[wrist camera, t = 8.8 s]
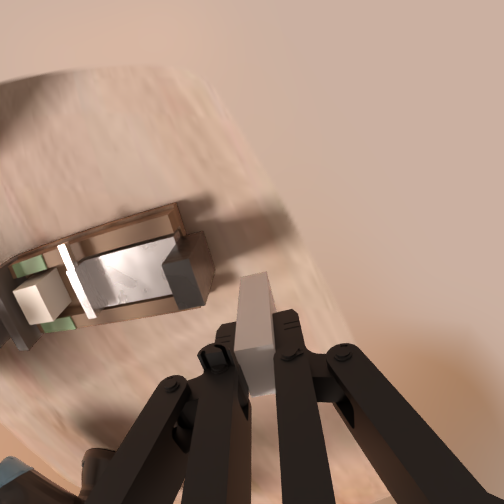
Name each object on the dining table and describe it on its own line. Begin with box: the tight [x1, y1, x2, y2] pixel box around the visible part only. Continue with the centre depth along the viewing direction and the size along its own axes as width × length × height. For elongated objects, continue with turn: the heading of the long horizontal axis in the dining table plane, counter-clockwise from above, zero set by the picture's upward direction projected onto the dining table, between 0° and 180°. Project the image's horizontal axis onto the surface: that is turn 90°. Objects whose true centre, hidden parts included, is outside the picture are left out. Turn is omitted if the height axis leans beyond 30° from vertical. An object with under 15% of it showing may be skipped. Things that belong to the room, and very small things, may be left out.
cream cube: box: [13, 268, 72, 325], centre depth 27 cm, size 4×4×4 cm
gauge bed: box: [0, 202, 201, 351], centre depth 26 cm, size 22×9×6 cm, turn 104°
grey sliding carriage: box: [58, 230, 215, 319], centre depth 24 cm, size 12×7×6 cm, turn 104°
